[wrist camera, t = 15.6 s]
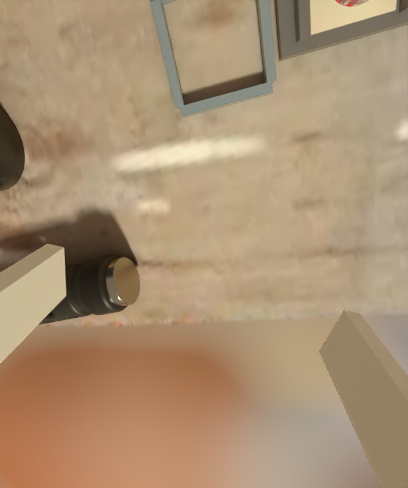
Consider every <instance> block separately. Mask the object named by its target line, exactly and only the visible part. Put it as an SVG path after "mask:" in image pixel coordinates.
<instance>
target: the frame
mask: <svg viewBox="0 0 408 488" xmlns="http://www.w3.org/2000/svg"><path fill="white" fill-rule="evenodd" d="M173 1H175V0H154V1H151V2H150V3H151V8H152V12H153V16H154V20H155V24H156V29H157V33H158V37H159V41H160V45H161V50H162V54H163V58H164V62H165V66H166V71H167V75H168V79H169V83H170V87H171V92H172V96H173V100H174V104H175V108H177V109H178V108H180V111H181V115H182V117H186V116H190V115H193V114H197V113H201V112H205V111H208V110H212V109H216V108H220V107H224V106H227V105H231V104H235V103H239V102H242V101H246V100H250V99H254V98H258V97H261V96H265V95H269V94H271V93H272V92H273V89H272V83H274V82H275V81H276V80H277V78H276V66H275V54H274V42H273V30H272V18H271V6H270V0H257V10H258V20H259V30H260V40H261V50H262V60H263V69H264V79H265V83H264V84H260V85H256V86H253V87H249V88H245V89H242V90H238V91H234V92H231V93H227V94H223V95H220V96H216V97H212V98H209V99H205V100H201V101H198V102H194V103H190V104H187V105H185V102H184V98H183V93H182V89H181V84H180V80H179V75H178V71H177V66H176V62H175V58H174V53H173V49H172V44H171V40H170V35H169V31H168V26H167V22H166V17H165V13H164V8H163V5H164V4H167V3H170V2H173Z"/></svg>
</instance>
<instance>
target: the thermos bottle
mask: <svg viewBox="0 0 408 488" xmlns="http://www.w3.org/2000/svg"><path fill="white" fill-rule="evenodd" d="M65 279H66V297H65V298H64V299H63V300H62V301H61V302H60V303H59V304H58V305H57V306H56V307H55V308H54V309H53V310H52V311H51V312H50V313H49V314H48V315H47V316H46V317H45V318H44V319H43V320H42V321H41V322H40V323H39V324H38V325H40V324H45V323H51V322H55V321H62V320H67V319H72V318H78V317H83V316H88V315H91V314H95V315H104V314H109V313H114V312H120V311H122V310H124V309H125V308H126V307H127V306H128V305H131V304H133V303H134V302H135V301H136V300H137V298H138V296H139V291H140V280H139V275H138V271H137V269H136V267H135V265H134V263H133V262H132V261H131V260H130V259H129V258H126V257H121V258H119V257H117V256H113V255H109V256H105V257H101V258H96V259H92V260H89V261H88V262H86V263H85V264H78V265H74V266H69V267H65Z"/></svg>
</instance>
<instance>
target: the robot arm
mask: <svg viewBox="0 0 408 488" xmlns="http://www.w3.org/2000/svg"><path fill="white" fill-rule="evenodd" d="M24 162H25V157H24V149H23V145H22V141H21V139H20V136H19V134H18V132H17V130H16V128H15V126H14V124H13V123H12V121H11V120H10V118H9V117H8V116H7V114H6V113H5V112H4V111H3V110H2V109H1V108H0V191H3V190H6V189H8V188H10V187H12V186H13V185H15V184H16V183H17V182H18V180H19V179H20V177H21V175H22V172H23V169H24ZM65 297H66V279H65V256H64V247H60V246H56V245H51V244H46V245H44V246H43V247H41V248H39V249H38V250H36V251H34V252H33V253H31V254H30V255H28V256H26V257H25V258H23V259H21V260H20V261H18V262H17V263H15V264H13V265H12V266H10V267H8V268H7V269H5V270H3V271H2V272H0V363H1V362H2V361H3V360H4V359H5V358H6V357H7V356H8V355H9V354H10V353H11V352H12V351H13V350H14V349H15V348H16V347H17V346H18V345H19V344H20V343H21V342H22V341H23V340H24V339H25V338H26V336H27V335H28V334H29V333H30V332H31V331H32V330H33V329H34V328H35V327H36V326H37V325H38V324H39V323H40V322H41V321H42V320H43V319H44V318H45V317H46V316H47V315H48V314H49V313H50V312H51V311H52V310H53V309H54V308H55V307H56V306H57V305H58V304H59V303H60V302H61V301H62V300H63V299H64V298H65ZM319 352H320V354H321V356H322V358H323V361H324V363H325V365H326V367H327V370H328V372H329V374H330V376H331V378H332V381H333V383H334V385H335V387H336V389H337V391H338V394H339V396H340V398H341V400H342V403H343V405H344V407H345V409H346V412H347V414H348V416H349V418H350V420H351V423H352V425H353V427H354V429H355V431H356V434H357V436H358V438H359V440H360V443H361V445H362V447H363V449H364V451H365V454H366V456H367V458H368V460H369V463H370V465H371V467H372V469H373V471H374V474H375V476H376V478H377V480H378V483H379V485H380V487H381V488H408V375H407V374H406V373H405V371H404V370H403V369H402V367H401V366H400V365H399V364H398V362H397V361H396V360H395V358H394V357H393V356H392V355H391V353H390V352H389V351H388V350H387V348H386V347H385V346H384V345H383V343H382V342H381V340H380V339H379V338H378V337H377V335H376V334H375V333H374V331H373V330H372V329H371V328H370V326H369V325H368V324H367V322H366V321H365V320H364V318H363V317H362V316H361V315H360V314H359V313H355V312H350V311H346V310H344V311H343V313H342V314H341V316H340V318H339V319H338V321H337V322H336V324H335V326H334V328H333V329H332V331H331V332H330V334H329V336H328V337H327V339H326V341H325V342H324V344H323V346H322V347H321V349H320V350H319Z"/></svg>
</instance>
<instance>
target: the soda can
mask: <svg viewBox="0 0 408 488" xmlns="http://www.w3.org/2000/svg"><path fill="white" fill-rule="evenodd" d="M335 1H336V2H337V3H339V4H341V5H343V6H347V7H354V6H358V5H361V4H363V3H366V2H367V1H369V0H335Z"/></svg>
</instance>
